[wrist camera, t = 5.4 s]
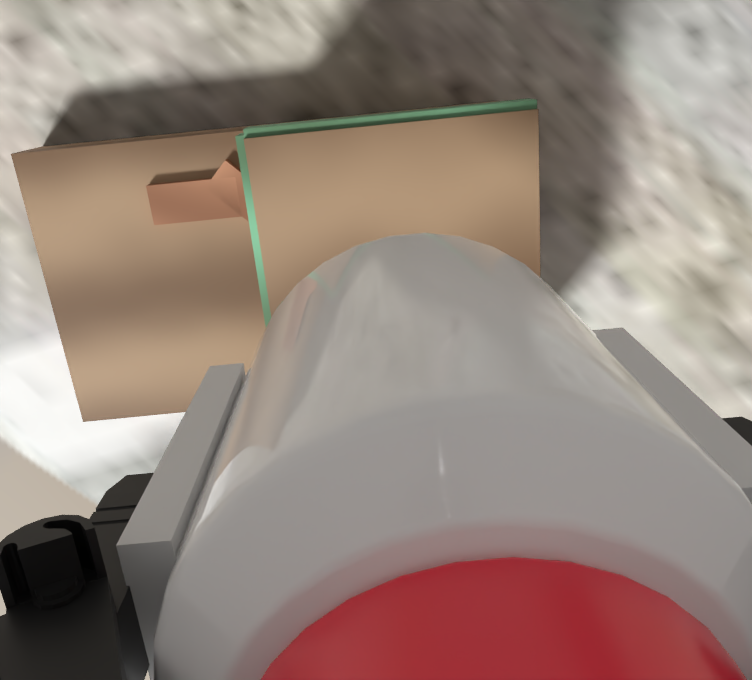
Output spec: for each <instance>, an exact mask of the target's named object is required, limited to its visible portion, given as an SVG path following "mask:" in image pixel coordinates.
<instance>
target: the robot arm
mask: <svg viewBox="0 0 752 680" xmlns="http://www.w3.org/2000/svg"><path fill="white" fill-rule="evenodd" d="M592 331H593V332H594V333H595V334H596V335H597V336H598V337H599V338H600V339H601V340H602V341H603V342H604V343H605V344H606V345H607V346H608V347H609V348H610V350H611V351H612V352H613V353H614V354H615V355H616V356H617V357H618V358H619V359H620V360H621V361H622V362H623V363H624V364H625V365H626V366H627V367H628V368H629V369H630V370H631V372H632V373H633V374H634V375H635V376H636V377H637V378H638V379H639V380H640V381H641V382H642V383H643V384H644V385H645V386H646V387H647V388H648V389H649V390H650V391H651V392H652V394H653V395H654V396H655V397H656V398H657V399H658V400H659V401H660V402H661V403H662V404H663V405H664V406H665V407H666V408H667V409H668V410H669V411H670V412H671V413H672V415H673V416H674V417H675V418H676V419H677V420H678V421H679V422H680V423H681V424H682V425H683V426H684V427H685V428H686V429H687V430H688V431H689V432H690V433H691V434H692V435H693V437H694V438H695V439H696V440H697V441H698V442H699V443H700V444H701V445H702V446H703V447H704V448H705V449H706V450H707V451H708V452H709V453H710V454H711V455H712V456H713V457H714V459H715V460H716V461H717V462H718V463H719V464H720V465H721V466H722V467H723V468H724V469H725V470H726V471H727V472H728V473H729V474H730V475H731V477H732V478H733V479H734V480H735V481H736V482H737V484H738V485H739V486H740V487H741V489H742V490H743V492H744V493H745V494H746V496H747V497H748V499H749V500H750V501H751V503H752V421H750V420H748V419H745V418H743V417H733V418H721V417H720V416H718V415H717V414H716V413H715V412H714V411H713V410H712V409H711V408H710V407H709V406H708V405H706V404H705V403H704V402H703V401H702V400H701V399H700V398H699V397H698V396H697V395H696V394H694V393H693V392H692V391H691V390H690V389H689V388H688V387H687V386H686V385H685V384H684V383H682V382H681V381H680V380H679V379H678V378H677V377H676V376H675V375H674V374H673V373H672V372H670V371H669V370H668V369H667V368H666V367H665V366H664V365H663V364H662V363H661V362H660V361H658V360H657V359H656V358H655V357H654V356H653V355H652V354H651V353H650V352H649V351H648V350H646V349H645V348H644V347H643V346H642V345H641V344H640V343H639V342H638V341H637V340H636V339H634V338H633V337H632V336H631V335H630V334H629V333H628V332H627V331H626V330H625V329H624V328H613V329H603V330H592ZM245 377H246V375H245V369H244V363H238V364H227V365H216V366H210V367H209V369H208V371H207V373H206V374H205V376H204V378H203V380H202V382H201V384H200V386H199V388H198V390H197V392H196V394H195V395H194V397H193V399H192V401H191V403H190V405H189V407H188V409H187V411H186V413H185V415H184V417H183V418H182V420H181V422H180V424H179V426H178V428H177V430H176V432H175V434H174V436H173V438H172V439H171V441H170V443H169V445H168V447H167V449H166V451H165V453H164V455H163V457H162V459H161V461H160V462H159V464H158V466H157V468H156V470H155V472H154V473H147V474H136V475H127V476H125V477H124V478H123V479H121V480H120V481H119V482H118V483H116V484H115V485H114V486H113V487H111V488H110V489H109V490H108V491H106V493H105V495H104V496H103V498H102V499H101V501H100V503H99V504H98V506H97V508H96V512H94V513H93V514H92V516H91V517H90V519H87V518H84V517H81V516H79V515H59V516H54V517H49V518H44V519H41V520H38V521H36V522H33V523H30V524H28V525H25V526H23V527H21V528H20V529H18V530H16V531H15V532H13V533H11V534H9V535H8V536H7V537H5V539H3V540H2V541H1V542H0V590H1V593H2V596H3V600H4V603H5V606H6V614H5V615H2V616H0V680H144V679H145V676H146V673H147V670H148V672H149V676H150V680H154V632H155V628H156V625H157V621H158V617H159V613H160V609H161V606H162V602H163V598H164V594H165V590H166V587H167V583H168V580H169V577H170V574H171V571H172V568H173V565H174V563H175V560H176V558H177V555H178V552H179V550H180V547H181V544H182V542H183V539H184V537H185V534H186V531H187V529H188V526H189V523H190V521H191V518H192V516H193V513H194V510H195V508H196V505H197V503H198V500H199V497H200V495H201V492H202V489H203V487H204V484H205V482H206V479H207V476H208V474H209V471H210V468H211V466H212V463H213V461H214V458H215V455H216V453H217V450H218V448H219V445H220V442H221V440H222V437H223V434H224V432H225V429H226V427H227V424H228V421H229V419H230V416H231V413H232V411H233V408H234V406H235V403H236V400H237V398H238V395H239V393H240V390H241V387H242V385H243V382H244V379H245Z"/></svg>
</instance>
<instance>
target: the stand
mask: <svg viewBox="0 0 752 680" xmlns="http://www.w3.org/2000/svg"><path fill="white" fill-rule="evenodd" d="M11 156H12V160H13V163H14V167H15V171H16V174H17V178H18V182H19V186H20V189H21V193H22V197H23V200H24V204H25V208H26V212H27V215H28V219H29V223H30V226H31V230H32V234H33V237H34V241H35V245H36V249H37V252H38V256H39V260H40V263H41V267H42V271H43V275H44V278H45V282H46V286H47V289H48V293H49V297H50V300H51V304H52V308H53V312H54V315H55V319H56V323H57V326H58V330H59V334H60V338H61V341H62V345H63V349H64V352H65V356H66V360H67V363H68V367H69V371H70V375H71V378H72V382H73V386H74V389H75V393H76V397H77V401H78V404H79V408H80V412H81V415H82V419H83V422H86V421H96V420H107V419H117V418H127V417H137V416H148V415H158V414H168V413H178V412H186V411H187V409H188V407H189V405H190V403H191V401H192V399H193V397H194V395H195V394H196V392H197V390H198V388H199V386H200V384H201V382H202V380H203V378H204V376H205V374H206V373H207V371H208V369H209V367H210V366H216V365H227V364H238V363H244V369H245V375H246V374H247V372H248V369H249V366H250V364H251V361H252V358H253V356H254V353H255V351H256V348H257V345H258V343H259V340H260V338H261V336H262V334H263V332H264V331H265V329H266V327H267V325H268V323H269V321H270V319H271V317H272V315H273V313H274V312H275V310H276V308H277V307H278V306H279V305H280V304H281V302H282V301H283V300H284V299H285V297H286V296H287V295H288V294H289V293H290V291H291V290H292V289H293V288H294V287H295V285H296V284H297V283H298V282H300V281H301V280H302V279H303V278H305V277H306V276H307V275H308V274H310V273H311V272H312V271H313V270H315V269H316V268H317V267H318V266H319V265H321V264H322V263H323V262H325V261H327V260H329V259H331V258H333V257H334V256H336V255H338V254H340V253H342V252H344V251H346V250H348V249H350V248H352V247H354V246H356V245H359V244H363V243H366V242H370V241H373V240H376V239H380V238H383V237H387V236H392V235H403V234H414V233H435V234H444V235H454V236H461V237H465V238H468V239H471V240H474V241H477V242H481V243H484V244H487V245H490V246H493V247H495V248H497V249H499V250H501V251H503V252H504V253H506V254H508V255H510V256H512V257H513V258H515V259H517V260H519V261H521V262H522V263H524V264H525V265H526V266H527V267H529V268H530V269H531V270H532V271H533V272H534V273H535V274H537V275H538V276H539V277H540V201H539V120H538V109H537V100H536V99H529V98H528V99H519V100H509V101H491V102H481V103H471V104H461V105H451V106H441V107H432V108H422V109H412V110H402V111H392V112H382V113H372V114H362V115H352V116H342V117H332V118H322V119H312V120H302V121H292V122H282V123H272V124H262V125H252V126H242V127H232V128H222V129H212V130H203V131H193V132H183V133H173V134H163V135H153V136H143V137H133V138H123V139H113V140H103V141H93V142H83V143H73V144H63V145H53V146H43V147H38V148H34V149H30V150H26V151H21V152H17V153H13V154H11Z"/></svg>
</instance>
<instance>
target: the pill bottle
mask: <svg viewBox="0 0 752 680" xmlns="http://www.w3.org/2000/svg"><path fill="white" fill-rule="evenodd" d="M154 680H752V503H751V501H750V500H749V499H748V497H747V496H746V494H745V493H744V492H743V490H742V489H741V487H740V486H739V485H738V484H737V482H736V481H735V480H734V479H733V478H732V477H731V475H730V474H729V473H728V472H727V471H726V470H725V469H724V468H723V467H722V466H721V465H720V464H719V463H718V462H717V461H716V460H715V459H714V457H713V456H712V455H711V454H710V453H709V452H708V451H707V450H706V449H705V448H704V447H703V446H702V445H701V444H700V443H699V442H698V441H697V440H696V439H695V438H694V437H693V435H692V434H691V433H690V432H689V431H688V430H687V429H686V428H685V427H684V426H683V425H682V424H681V423H680V422H679V421H678V420H677V419H676V418H675V417H674V416H673V415H672V413H671V412H670V411H669V410H668V409H667V408H666V407H665V406H664V405H663V404H662V403H661V402H660V401H659V400H658V399H657V398H656V397H655V396H654V395H653V394H652V392H651V391H650V390H649V389H648V388H647V387H646V386H645V385H644V384H643V383H642V382H641V381H640V380H639V379H638V378H637V377H636V376H635V375H634V374H633V373H632V372H631V370H630V369H629V368H628V367H627V366H626V365H625V364H624V363H623V362H622V361H621V360H620V359H619V358H618V357H617V356H616V355H615V354H614V353H613V352H612V351H611V350H610V348H609V347H608V346H607V345H606V344H605V343H604V342H603V341H602V340H601V339H600V338H599V337H598V336H597V335H596V334H595V333H594V332H593V331H592V330H591V329H590V328H589V326H588V325H587V324H586V323H585V322H584V321H583V320H582V319H581V318H580V317H579V316H578V315H577V314H576V313H575V312H574V311H573V310H572V309H571V308H570V307H569V306H568V304H567V303H566V302H565V301H564V300H563V299H562V298H561V297H560V296H559V295H558V294H557V293H556V292H555V291H554V290H553V289H552V288H551V287H550V286H549V285H548V284H547V283H546V282H545V281H544V280H542V279H541V278H540V277H539V276H538V275H537V274H535V273H534V272H533V271H532V270H531V269H530V268H529V267H527V266H526V265H525V264H524V263H522V262H521V261H519V260H517V259H515V258H513V257H512V256H510V255H508V254H506V253H504V252H503V251H501V250H499V249H497V248H495V247H493V246H490V245H487V244H484V243H481V242H477V241H474V240H471V239H468V238H465V237H461V236H454V235H444V234H435V233H414V234H403V235H392V236H387V237H383V238H380V239H376V240H373V241H370V242H366V243H363V244H359V245H356V246H354V247H352V248H350V249H348V250H346V251H344V252H342V253H340V254H338V255H336V256H334V257H333V258H331V259H329V260H327V261H325V262H323V263H322V264H321V265H319V266H318V267H317V268H316V269H315V270H313V271H312V272H311V273H310V274H308V275H307V276H306V277H305V278H303V279H302V280H301V281H300V282H298V283H297V284H296V285H295V287H294V288H293V289H292V290H291V291H290V293H289V294H288V295H287V296H286V297H285V299H284V300H283V301H282V302H281V304H280V305H279V306H278V307H277V308H276V310H275V312H274V313H273V315H272V317H271V319H270V321H269V323H268V325H267V327H266V329H265V331H264V332H263V334H262V336H261V338H260V340H259V343H258V345H257V348H256V351H255V353H254V356H253V358H252V361H251V364H250V366H249V369H248V372H247V374H246V377H245V379H244V382H243V385H242V387H241V390H240V393H239V395H238V398H237V400H236V403H235V406H234V408H233V411H232V413H231V416H230V419H229V421H228V424H227V427H226V429H225V432H224V434H223V437H222V440H221V442H220V445H219V448H218V450H217V453H216V455H215V458H214V461H213V463H212V466H211V468H210V471H209V474H208V476H207V479H206V482H205V484H204V487H203V489H202V492H201V495H200V497H199V500H198V503H197V505H196V508H195V510H194V513H193V516H192V518H191V521H190V523H189V526H188V529H187V531H186V534H185V537H184V539H183V542H182V544H181V547H180V550H179V552H178V555H177V558H176V560H175V563H174V565H173V568H172V571H171V574H170V577H169V580H168V583H167V587H166V590H165V594H164V598H163V602H162V606H161V609H160V613H159V617H158V621H157V625H156V628H155V632H154Z"/></svg>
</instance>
